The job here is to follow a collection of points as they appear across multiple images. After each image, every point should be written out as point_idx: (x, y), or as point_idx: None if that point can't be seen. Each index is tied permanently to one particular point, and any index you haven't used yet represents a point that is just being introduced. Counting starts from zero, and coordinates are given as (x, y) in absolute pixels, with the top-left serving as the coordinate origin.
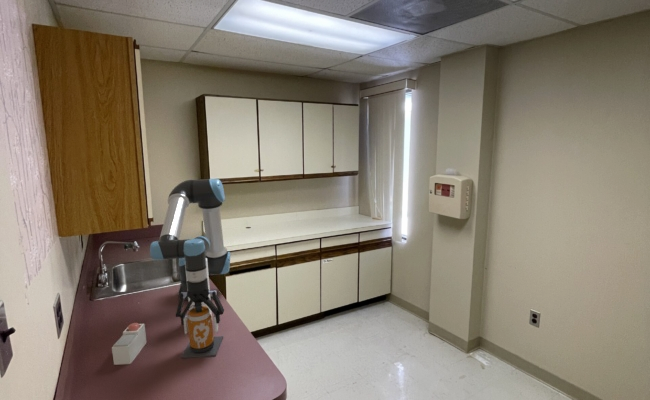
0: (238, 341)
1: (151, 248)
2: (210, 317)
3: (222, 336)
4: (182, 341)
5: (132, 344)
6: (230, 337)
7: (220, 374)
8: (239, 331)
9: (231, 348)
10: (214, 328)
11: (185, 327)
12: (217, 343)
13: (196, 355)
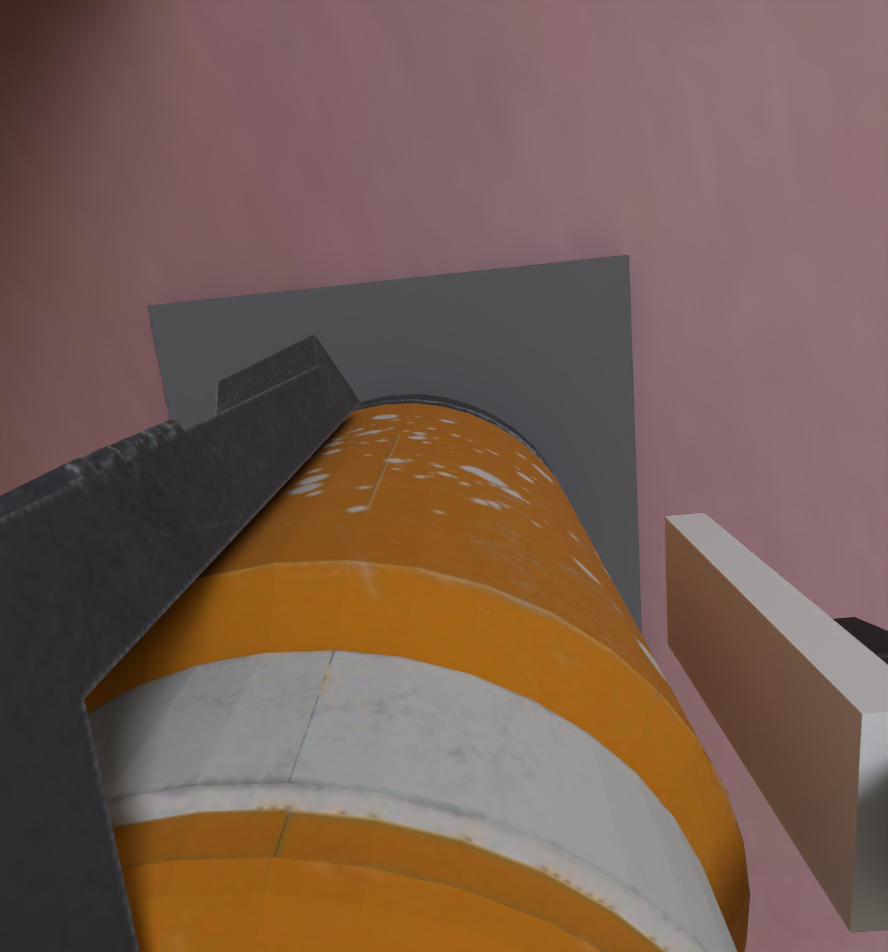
0: (876, 364)
1: None
2: (742, 945)
3: (620, 262)
4: (48, 358)
5: None
6: (735, 253)
7: (770, 948)
8: (854, 61)
9: (803, 530)
10: (696, 687)
11: None
12: (596, 453)
13: None
